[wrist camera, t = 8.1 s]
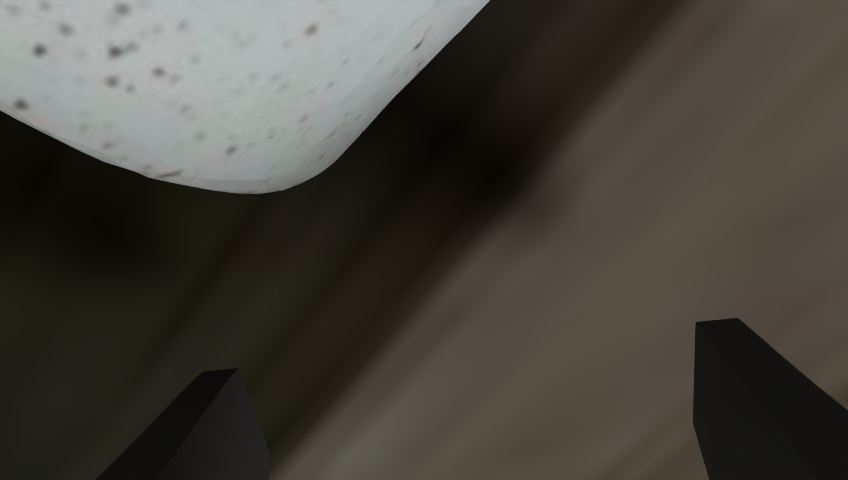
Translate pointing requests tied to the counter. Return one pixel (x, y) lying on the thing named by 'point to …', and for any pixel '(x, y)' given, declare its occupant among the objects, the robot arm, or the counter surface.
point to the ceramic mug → (216, 79)
